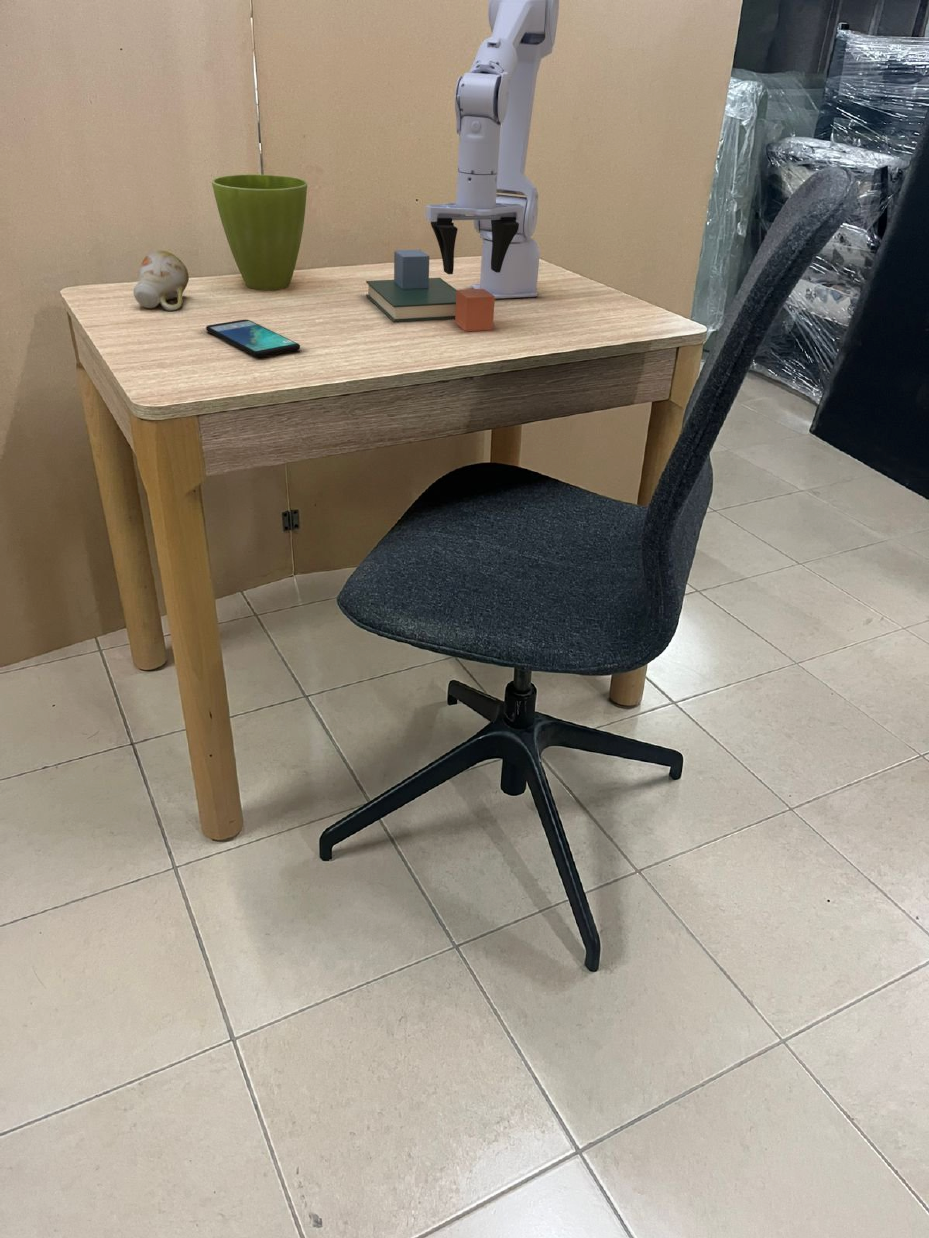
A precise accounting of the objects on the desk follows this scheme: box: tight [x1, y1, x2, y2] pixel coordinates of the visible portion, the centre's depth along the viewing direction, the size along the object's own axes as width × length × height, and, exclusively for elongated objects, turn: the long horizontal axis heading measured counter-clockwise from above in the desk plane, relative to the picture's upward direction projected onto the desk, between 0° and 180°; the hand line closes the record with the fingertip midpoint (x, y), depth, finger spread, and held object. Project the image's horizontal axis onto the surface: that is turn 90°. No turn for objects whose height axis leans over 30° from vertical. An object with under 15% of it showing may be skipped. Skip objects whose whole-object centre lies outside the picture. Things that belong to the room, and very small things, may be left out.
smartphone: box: [205, 319, 301, 358], centre depth 127 cm, size 7×1×15 cm
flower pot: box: [211, 173, 308, 291], centre depth 149 cm, size 15×15×16 cm
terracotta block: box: [454, 288, 496, 332], centre depth 138 cm, size 4×4×5 cm
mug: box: [132, 250, 190, 311], centre depth 140 cm, size 8×10×10 cm
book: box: [365, 277, 457, 323], centre depth 146 cm, size 13×15×2 cm
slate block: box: [393, 249, 430, 289], centre depth 147 cm, size 4×4×5 cm
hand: (472, 272), depth 136 cm, fingers open, 7 cm apart
